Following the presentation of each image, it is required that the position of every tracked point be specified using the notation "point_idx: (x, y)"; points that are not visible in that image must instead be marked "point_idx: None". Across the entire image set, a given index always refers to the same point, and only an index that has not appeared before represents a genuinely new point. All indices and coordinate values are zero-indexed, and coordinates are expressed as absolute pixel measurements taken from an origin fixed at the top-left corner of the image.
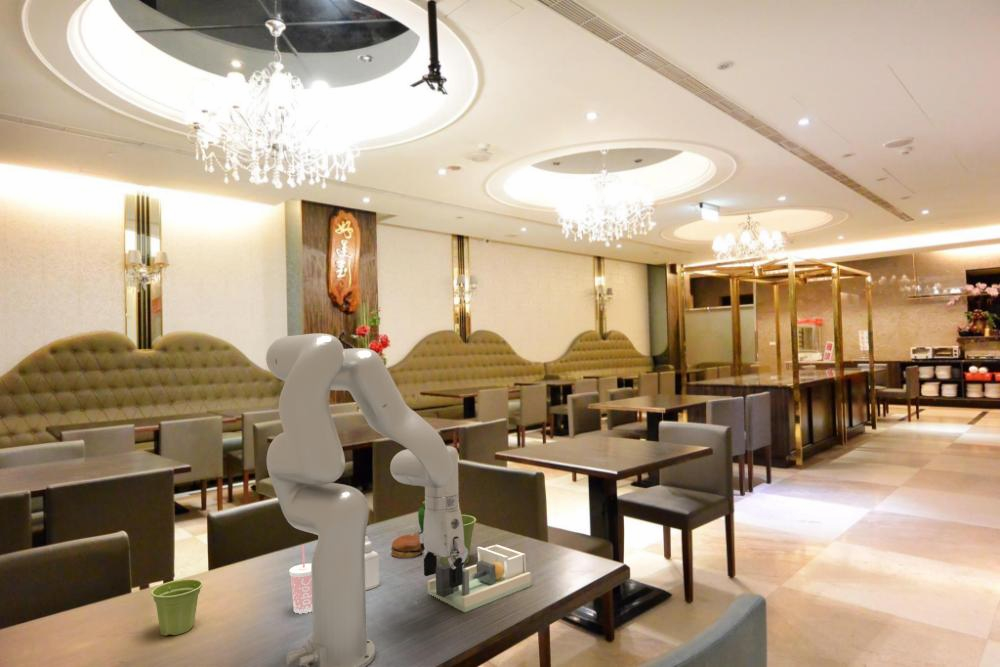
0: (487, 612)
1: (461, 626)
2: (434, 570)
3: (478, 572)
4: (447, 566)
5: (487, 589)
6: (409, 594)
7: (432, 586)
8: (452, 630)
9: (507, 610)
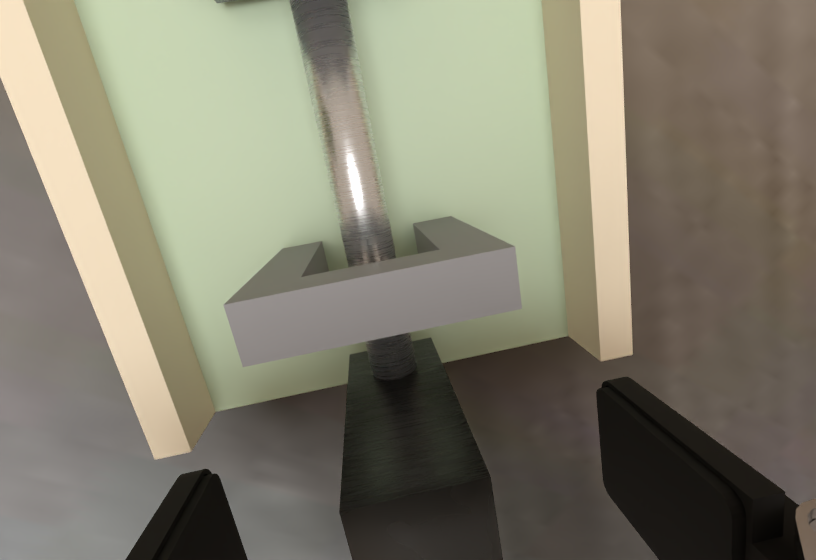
0: (667, 208)
1: (695, 396)
2: (212, 516)
3: (321, 16)
4: (456, 535)
5: (624, 126)
6: (141, 494)
7: (199, 406)
8: None
9: (732, 85)
